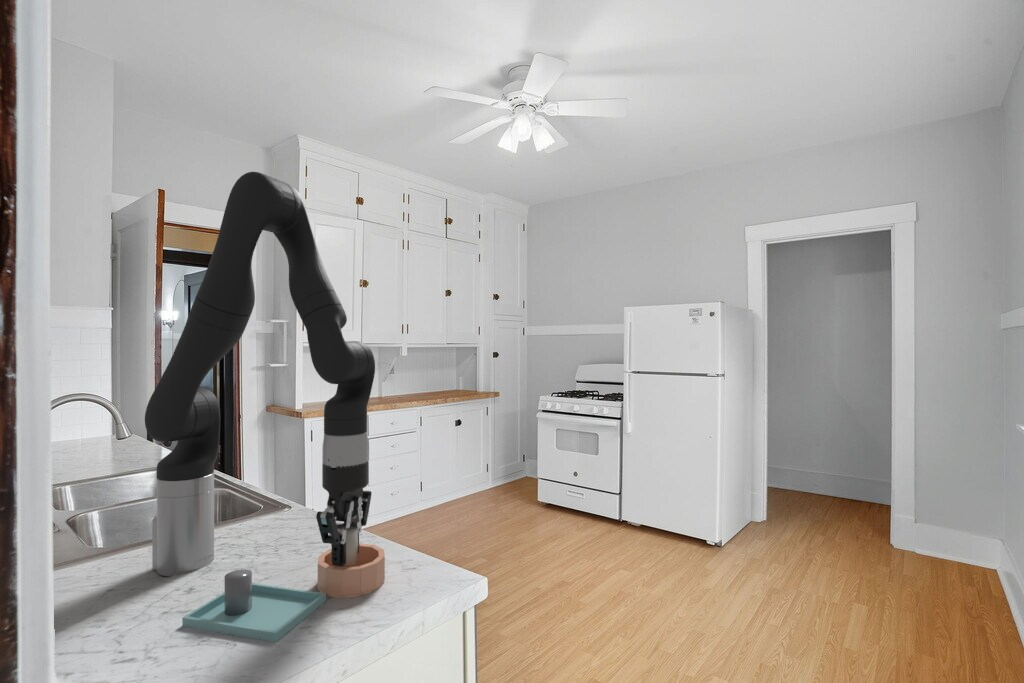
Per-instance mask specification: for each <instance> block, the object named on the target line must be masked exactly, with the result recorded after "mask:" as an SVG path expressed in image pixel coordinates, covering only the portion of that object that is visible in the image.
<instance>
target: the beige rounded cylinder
mask: <svg viewBox="0 0 1024 683" xmlns="http://www.w3.org/2000/svg"><path fill="white" fill-rule="evenodd" d="M338 533H339V536H340V529H338ZM345 543H346V563H345V564H344V565H343V566H337V567H350V566H353V565H355V564H356V563H357V562H358V528H356V527H352V526H350V528H349V529H347V533H346V541H345Z"/></svg>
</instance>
